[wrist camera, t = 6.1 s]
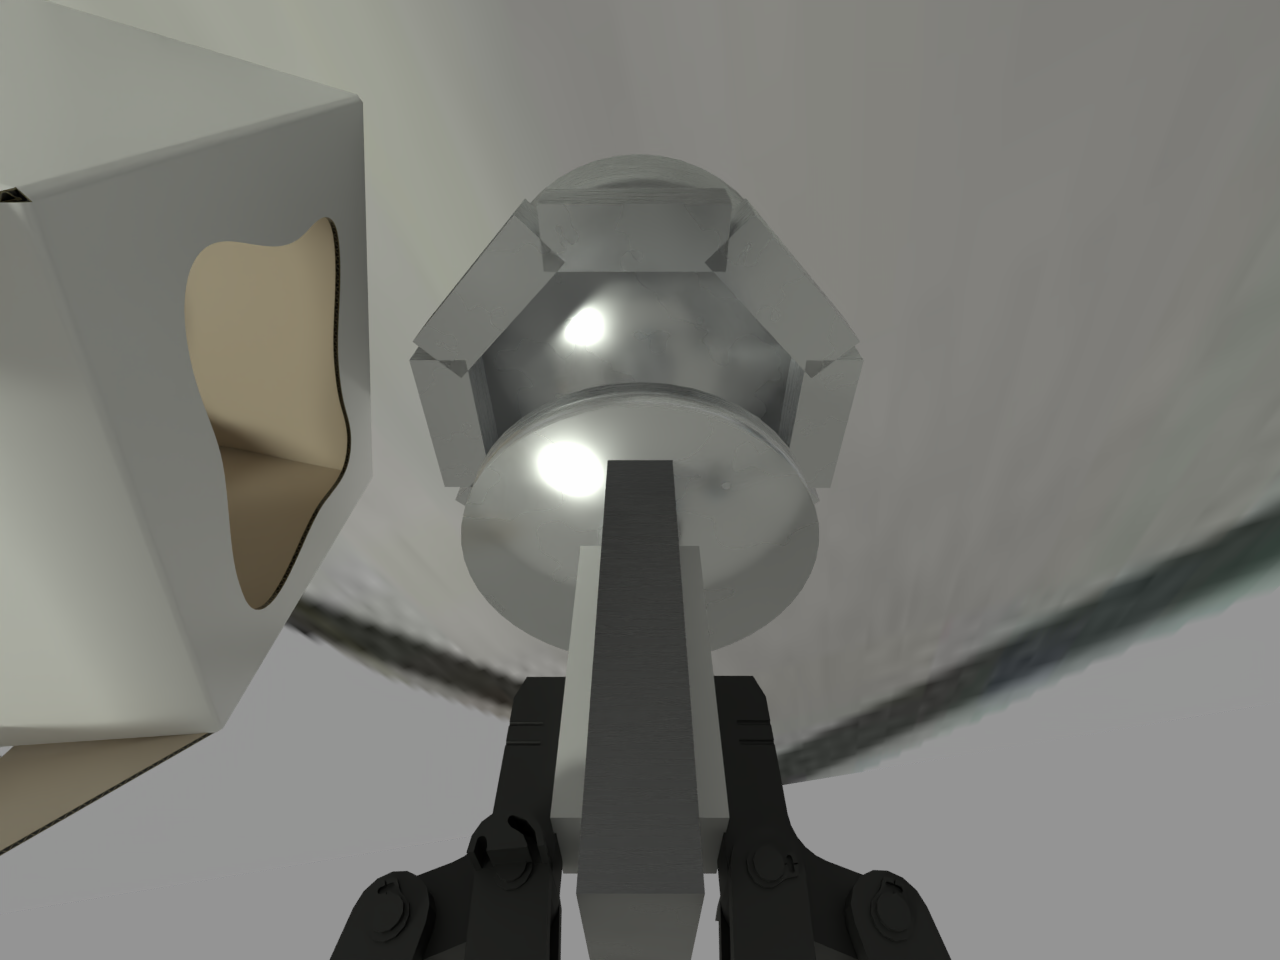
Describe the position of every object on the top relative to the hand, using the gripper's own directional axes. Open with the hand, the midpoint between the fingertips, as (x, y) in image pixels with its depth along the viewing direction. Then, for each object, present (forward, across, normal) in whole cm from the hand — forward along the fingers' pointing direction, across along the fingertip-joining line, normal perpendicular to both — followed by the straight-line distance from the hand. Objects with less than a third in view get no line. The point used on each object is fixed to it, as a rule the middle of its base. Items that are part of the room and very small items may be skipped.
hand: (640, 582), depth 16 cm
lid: (+2, 0, 0) cm, 2 cm away
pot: (+19, 0, +3) cm, 19 cm away
